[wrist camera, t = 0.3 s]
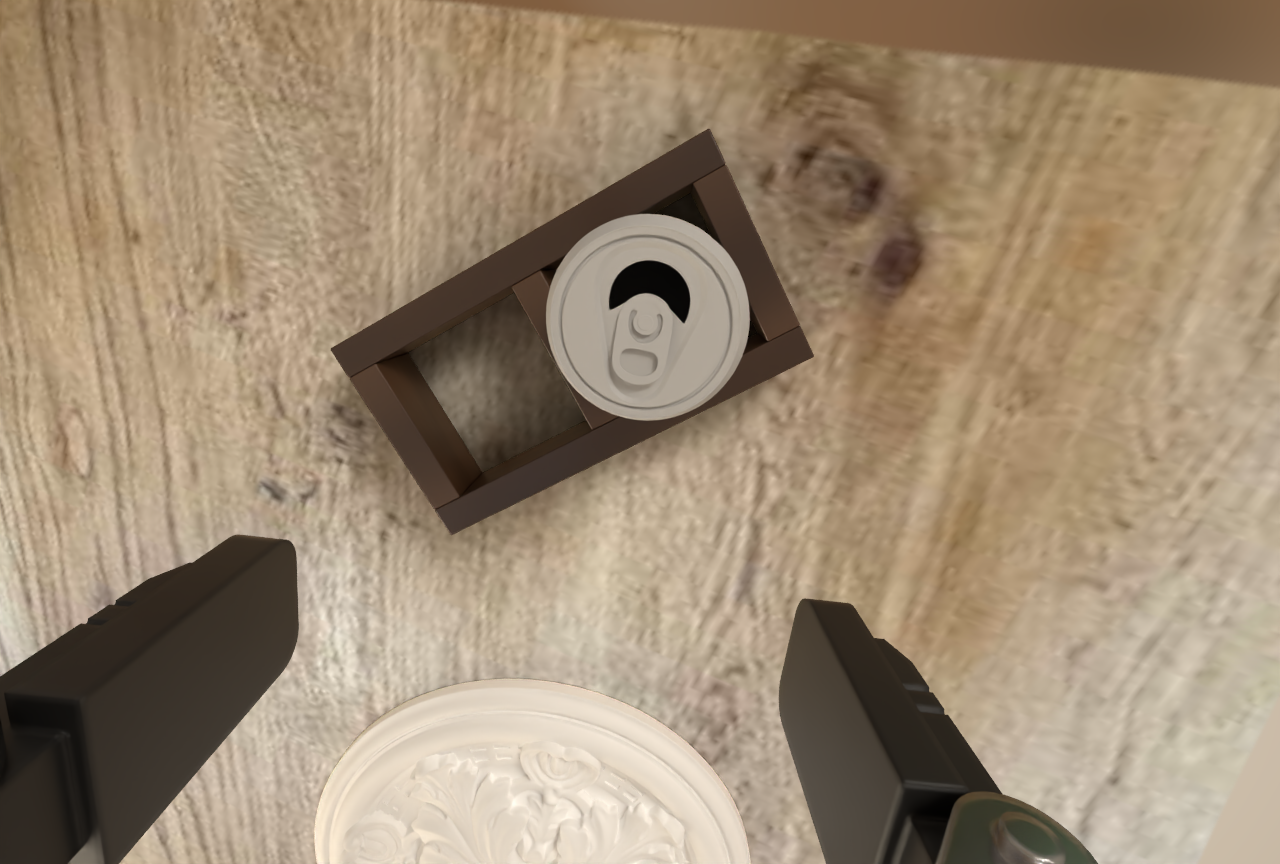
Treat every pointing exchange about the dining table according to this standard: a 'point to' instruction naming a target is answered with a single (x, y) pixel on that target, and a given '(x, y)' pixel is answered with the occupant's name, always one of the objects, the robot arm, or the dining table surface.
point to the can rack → (529, 272)
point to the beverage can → (647, 317)
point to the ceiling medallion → (524, 785)
